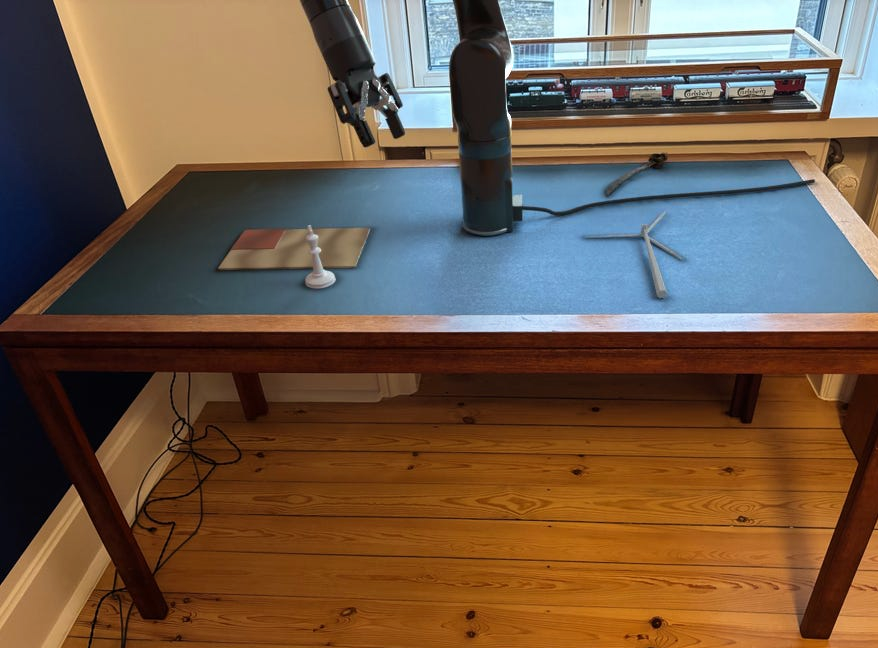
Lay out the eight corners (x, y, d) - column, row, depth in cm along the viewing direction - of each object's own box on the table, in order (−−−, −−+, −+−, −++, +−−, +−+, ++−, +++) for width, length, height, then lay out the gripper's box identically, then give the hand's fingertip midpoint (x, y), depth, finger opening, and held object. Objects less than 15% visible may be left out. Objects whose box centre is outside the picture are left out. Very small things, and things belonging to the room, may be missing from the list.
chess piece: (310, 291, 117) (298, 235, 111) (301, 279, 120) (289, 223, 114) (339, 283, 118) (329, 227, 113) (330, 271, 122) (319, 216, 116)
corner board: (370, 229, 135) (370, 226, 135) (355, 267, 123) (355, 265, 122) (245, 232, 136) (245, 229, 136) (218, 270, 124) (217, 267, 124)
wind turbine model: (696, 300, 110) (666, 212, 134) (697, 287, 108) (667, 200, 132) (592, 303, 111) (581, 215, 135) (593, 290, 110) (581, 203, 133)
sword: (608, 197, 142) (609, 187, 140) (593, 193, 144) (594, 183, 142) (675, 160, 156) (676, 151, 154) (661, 157, 158) (662, 147, 157)
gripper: (329, 35, 108) (376, 139, 111) (385, 30, 119) (425, 125, 122) (297, 58, 112) (343, 157, 116) (354, 51, 123) (393, 142, 127)
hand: (385, 141), depth 119 cm, fingers open, 8 cm apart
